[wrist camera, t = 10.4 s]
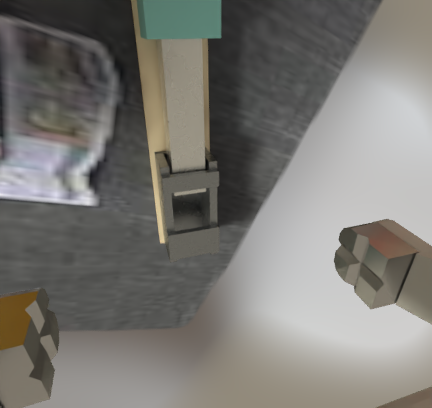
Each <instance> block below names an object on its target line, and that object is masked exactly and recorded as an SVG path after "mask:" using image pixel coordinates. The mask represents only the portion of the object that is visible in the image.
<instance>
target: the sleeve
mask: <svg viewBox="0 0 432 408" xmlns="http://www.w3.org/2000/svg"><path fill="white" fill-rule="evenodd" d="M154 153H155V162H156V171H157V180H158V189H159V198H160V207H161V216H162V225H163V234H164V241H165V245H166V249H167V253H168V256H169V260H170V263H171V262H176V261H177V259H181V258H186V257H191V256H196V255H202V254H207V253H210V254H216V253H218V251H219V226H218V224H217V187H218V186H219V171H218V169H217V160H216V159H215V158H214V157H213V156H212V154H211V153H210V152H209V151H208V149H207V148H206V147H205V170H204V171H196V172H188V173H180V174H172V175H170V173H169V166H168V164H167V153H166V151H161V152H154ZM204 188H206V192H200V193H193V194H186V195H179V196H174V194H173V193H176V192H183V191H190V190H197V189H204Z"/></svg>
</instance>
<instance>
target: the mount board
mask: <svg viewBox="0 0 432 408" xmlns="http://www.w3.org/2000/svg"><path fill="white" fill-rule="evenodd" d="M131 4H132V13H133V21H134V29H135V38H136V46H137V54H138V63H139V71H140V79H141V88H142V96H143V104H144V113H145V121H146V129H147V138H148V146H149V154H150V163H151V171H152V179H153V188H154V196H155V204H156V213H157V221H158V229H159V238H160V243H165V241H164V234H163V225H162V216H161V207H160V198H159V189H158V180H157V171H156V162H155V153H154V152H161V151H166V142H165V131H164V120H163V109H162V98H161V87H160V76H159V65H158V54H157V43H156V39H144V38H141V35H140V26H139V18H138V9H137V0H131ZM202 58H203V97H204V136H205V147H206V148H207V149H208V151H209V152H210V139H209V82H208V38H202Z"/></svg>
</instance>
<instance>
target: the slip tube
mask: <svg viewBox="0 0 432 408" xmlns="http://www.w3.org/2000/svg"><path fill="white" fill-rule="evenodd" d="M156 43H157V54H158V65H159V76H160V87H161V98H162V109H163V120H164V131H165V142H166V153H167V164H168V166H169V173H170V175H172V174H180V173H188V172H196V171H204V170H205V136H204V97H203V58H202V39H156ZM200 192H206V188H204V189H197V190H190V191H183V192H176V193H173V194H174V196H179V195H186V194H193V193H200Z"/></svg>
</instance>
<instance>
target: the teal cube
mask: <svg viewBox="0 0 432 408" xmlns="http://www.w3.org/2000/svg"><path fill="white" fill-rule="evenodd" d="M137 9H138V18H139V26H140V35H141V38H144V39H202V38H221V0H137Z"/></svg>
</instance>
